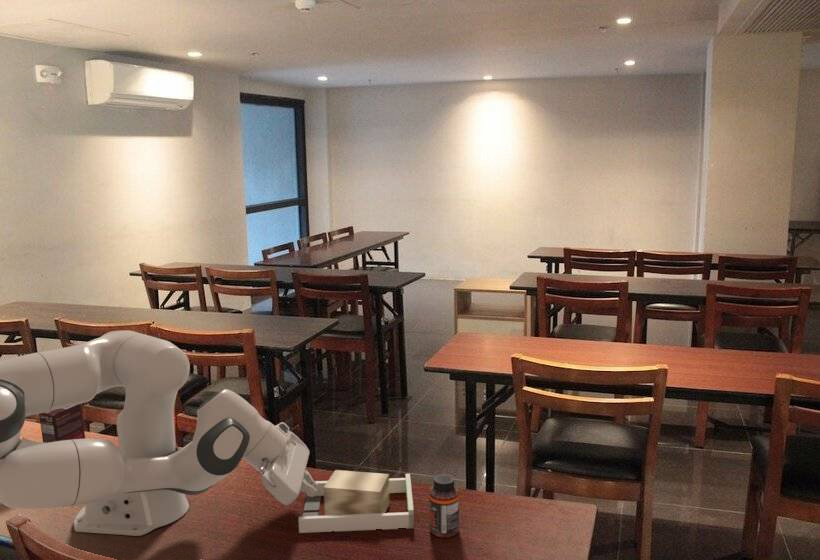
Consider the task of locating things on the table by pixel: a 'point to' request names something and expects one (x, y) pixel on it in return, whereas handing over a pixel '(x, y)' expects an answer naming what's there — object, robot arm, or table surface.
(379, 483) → the birch block
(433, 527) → the supplement bottle
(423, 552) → the table surface
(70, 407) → the supplement box
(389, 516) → the box
